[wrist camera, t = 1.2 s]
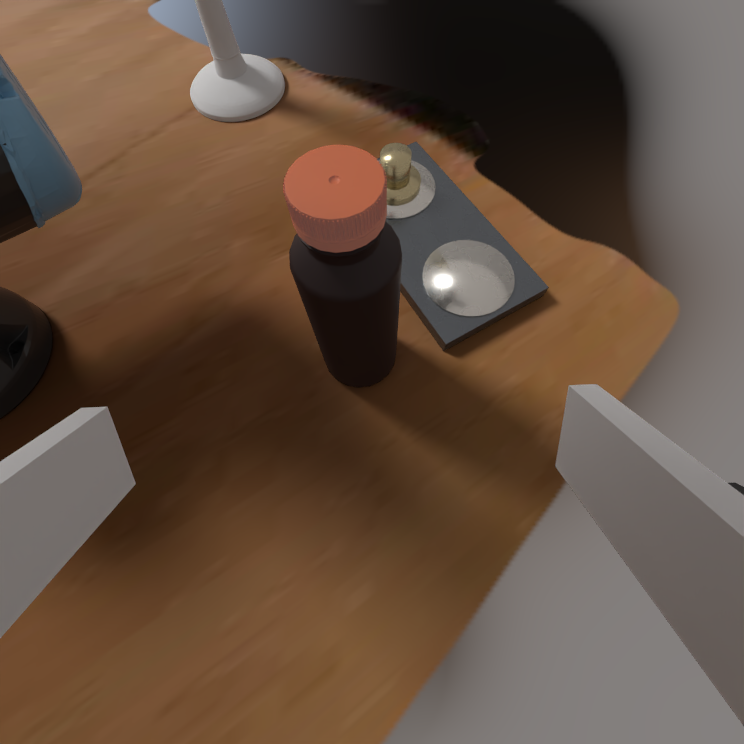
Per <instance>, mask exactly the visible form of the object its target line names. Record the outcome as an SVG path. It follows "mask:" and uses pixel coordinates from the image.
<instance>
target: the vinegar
mask: <svg viewBox="0 0 744 744" xmlns="http://www.w3.org/2000/svg"><path fill="white" fill-rule="evenodd" d="M283 185H284V186H283V191H284V196H285V199H286V202H287V206H288V209H289V212H290V216H291V219H292V222H293V225H294V228H295V230H296V232H297V234H296V235H295V237H294V240H293V243H292V245H291V248H290V252H289V254H290V269H291V272H292V275H293V277H294V280H295V283H296V285H297V288H298V291H299V293H300V296H301V299H302V301H303V304H304V307H305V309H306V312H307V315H308V317H309V320H310V323H311V325H312V328H313V331H314V333H315V336H316V339H317V341H318V344H319V347H320V349H321V352H322V355H323V357H324V360H325V362H326V365H327V367H328V369H329V372H330V373H331V374H332V375H333V376H334V377H335V378H336V379H337V380H338V381H340V382H342V383H344V384H346V385H348V386H354V387H366V386H371V385H373V384H375V383H378V382H380V381H381V380H382V379H383V378H384V377H386V376H387V375H388V374H389V372H390V370H391V369H392V367H393V365H394V362H395V357H396V345H397V330H398V315H399V299H400V284H401V269H402V251H401V245H400V240H399V238H398V236H397V235H396V233H395V231H394V230H393V228H392V226H391V225H390V224H388V223H387V222H386V216H387V176H386V173H385V170H383V167H382V164H380V161H378V160H377V158H375V157H374V156H372V155H371V154H369V153H368V152H367V151H365V150H362V149H359V148H357V147H354V146H346V145H330V146H323V147H319V148H317V149H314V150H311V151H309V152H307V153H306V154H304V155H303V156H300V158H298V159H297V160H296V161H294V163H293V164H292V166H291V167H290V168H289V170H288V173H286V176H285V179H284V183H283Z"/></svg>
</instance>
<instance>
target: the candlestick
mask: <svg viewBox="0 0 744 744" xmlns="http://www.w3.org/2000/svg"><path fill="white" fill-rule="evenodd" d="M195 3H196V6H197V9H198V12H199V15H200V18H201V21H202V25H203V28H204V30H205V34H206V36H207V40H208V43H209V46H210V49H211V54H212V56H213V59H214V61H212V62H210V63H209V64H207V65H206V66H205V67H204V68H202V69H201V70H200V72H199V73H198V74H197V75H196V77H195V79H194V80H193V83H192V85H191V89H190V96H191V100H192V102H193V104H194V106H195V108H196V109H197V110H198V111H199V112H200V113H201V114H202V115H204V116H206V117H208V118H210V119H213V120H217V121H223V122H238V121H244V120H248V119H252V118H255V117H257V116H260V115H262V114H264V113H266V112H267V111H269V110H270V109H272V108H273V107H274V106H275V105H276V104H277V103H278V102H279V101H280V99H281V98H282V96H283V93H284V90H285V82H284V78H283V75H282V73H281V71H280V69H279V68H278V67H277V66H276V65H275V64H273V63H272V62H270V61H268V60H266V59H264V58H262V57H259V56H255V55H250V54H241V53H240V51H239V46H238V45H237V42H236V39H235V37H234V34H233V31H232V28H231V25H230V22H229V20H228V17H227V14H226V11H225V8H224V6H223V3H222V0H195Z"/></svg>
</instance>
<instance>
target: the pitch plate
mask: <svg viewBox="0 0 744 744" xmlns="http://www.w3.org/2000/svg"><path fill="white" fill-rule="evenodd" d="M377 160H378V161H380V164H382V167H383V170H385V173H386V176H387V216H386V222H387V223H388V224H390V225H391V226H392V228H393V230H394V231H395V233H396V235H397V236H398V238H399V240H400V245H401V251H402V269H401V284H400V291H401V293H402V294H403V296H404V297H405V298H406V300H407V301H408V302H409V304H410V305H411V307H412V308H413V309H414V311H415V312H416V314H417V315H418V316H419V318H420V319H421V320H422V322H423V323H424V325H425V326H426V327H427V329H428V330H429V332H430V333H431V334H432V336H433V337H434V339H435V340H436V341H437V343H438V344H439V345H440V347H441V348H442V350H443V351H445V350H446V349H448V348H450V347H452V346H454V345H455V344H457V343H459V342H461V341H463V340H464V339H466V338H468V337H470V336H472V335H473V334H475V333H477V332H479V331H481V330H482V329H484V328H486V327H488V326H490V325H491V324H493V323H495V322H497V321H499V320H500V319H502V318H504V317H506V316H508V315H509V314H511V313H513V312H515V311H517V310H518V309H520V308H522V307H524V306H526V305H527V304H529V303H531V302H533V301H535V300H536V299H538V298H540V297H542V296H543V295H544V293H545V292H546V291H547V289H548V288H549V287H548V286H547V285H546V284H545V283H544V282H543V281H542V279H541V278H540V277H539V276H538V275H537V274H536V273H535V272H534V271H533V270H532V268H531V267H530V266H529V265H528V264H527V263H526V262H525V261H524V260H523V259H522V257H521V256H520V255H519V254H518V253H517V252H516V251H515V250H514V249H513V248H512V246H511V245H510V244H509V243H508V242H507V241H506V240H505V239H504V238H503V237H502V235H501V234H500V233H499V232H498V231H497V230H496V229H495V228H494V227H493V226H492V224H491V223H490V222H489V221H488V220H487V219H486V218H485V217H484V216H483V215H482V213H481V212H480V211H479V210H478V209H477V208H476V207H475V206H474V205H473V204H472V202H471V201H470V200H469V199H468V198H467V197H466V196H465V195H464V194H463V193H462V191H461V190H460V189H459V188H458V187H457V186H456V185H455V184H454V183H453V182H452V180H451V179H450V178H449V177H448V176H447V175H446V174H445V173H444V172H443V171H442V169H441V168H440V167H439V166H438V165H437V164H436V163H435V162H434V161H433V160H432V158H431V157H430V156H429V155H428V154H427V153H426V152H425V151H424V150H423V149H422V147H421V146H420V145H419V144H418V143H417V142H414V143H412V144H410V145H407V146H406V145H404V144H401V143H391V144H388V145H386V146H384V147H383V148H382V150H381V152H380V158H378V159H377Z"/></svg>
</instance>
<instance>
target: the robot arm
mask: <svg viewBox="0 0 744 744" xmlns="http://www.w3.org/2000/svg"><path fill="white" fill-rule="evenodd" d="M81 194H82V185H81V181H80V179H79V177H78V175H77V173H76V171H75V169H74V167H73V165H72V164H71V162H70V160H69V159H68V157H67V155H66V154H65V152H64V150H63V149H62V147H61V145H60V144H59V142H58V141H57V139H56V138H55V136H54V134H53V133H52V131H51V130H50V128H49V126H48V125H47V123H46V122H45V120H44V119H43V117H42V116H41V114H40V113H39V111H38V110H37V108H36V106H35V105H34V103H33V102H32V100H31V99H30V97H29V96H28V94H27V93H26V91H25V90H24V88H23V87H22V85H21V84H20V82H19V81H18V79H17V78H16V76H15V75H14V73H13V72H12V71H11V69H10V68H9V66H8V65H7V63H6V62H5V60H4V59H3V57H2V56H1V54H0V243H2V242H4V241H6V240H8V239H10V238H13V237H15V236H17V235H19V234H21V233H23V232H26V231H28V230H30V229H32V228H34V227H36V226H37V227H38V228H40V227H43V225H44V224H45V221H47V220H48V219H50V218H52V217H54V216H56V215H58V214H60V213H61V212H63V211H65V210H67V209H69V208H71V207H73V206H74V205H75V204H76V203H77V202H78V201H79V200H80V197H81ZM51 349H52V331H51V326H50V323H49V321H48V319H47V317H46V316H45V314H44V313H43V312H42V311H41V310H40V309H39V308H38V307H37V306H36V305H34V304H33V303H31V302H29V301H28V300H26V299H25V298H23V297H21V296H20V295H18V294H16V293H14V292H12V291H10V290H8V289H5V288H2V287H0V418H1V417H3V416H4V415H6V414H7V413H8V412H10V411H11V410H12V409H13V408H15V407H16V406H17V405H18V404H19V403H20V402H21V401H22V400H23V399H24V398H25V397H26V396H27V395H28V394H29V393H30V391H31V390H32V389H33V388H34V386H35V385H36V384H37V382H38V381H39V379H40V377H41V376H42V374H43V372H44V370H45V368H46V366H47V363H48V360H49V357H50V354H51ZM555 467H556V468H557V470H558V471H559V472H560V474H561V475H562V476H563V478H564V479H565V481H566V482H567V483H568V485H569V486H570V487H571V489H572V490H573V491H574V493H575V494H576V496H577V497H578V498H579V500H580V501H581V503H582V504H583V505H584V507H585V508H586V509H587V511H588V512H589V514H590V515H591V516H592V518H593V519H594V520H595V522H596V523H597V524H598V526H599V527H600V529H601V530H602V532H603V533H604V534H605V535H606V537H607V538H608V539H609V541H610V542H611V544H612V545H613V546H614V548H615V549H616V551H617V552H618V554H619V555H620V556H621V558H622V559H623V560H624V562H625V563H626V565H627V566H628V567H629V568H630V570H631V571H632V573H633V574H634V575H635V577H636V578H637V580H638V581H639V582H640V584H641V585H642V587H643V588H644V589H645V591H646V592H647V593H648V595H649V596H650V597H651V599H652V600H653V602H654V603H655V604H656V606H657V607H658V608H659V610H660V611H661V613H662V614H663V615H664V617H665V618H666V620H667V621H668V622H669V624H670V625H671V626H672V628H673V629H674V631H675V632H676V633H677V635H678V636H679V637H680V639H681V640H682V642H683V643H684V644H685V646H686V647H687V648H688V650H689V651H690V652H691V654H692V655H693V657H694V658H695V659H696V661H697V662H698V664H699V665H700V666H701V668H702V669H703V670H704V672H705V673H706V674H707V676H708V677H709V679H710V680H711V681H712V683H713V684H714V685H715V687H716V688H717V690H718V691H719V692H720V694H721V695H722V697H723V698H724V699H725V701H726V702H727V703H728V705H729V706H730V708H731V709H732V710H733V712H734V713H735V714H736V716H737V717H738V719H739V720H740V721H741V723H742V724H743V725H744V487H743V486H741V485H739V484H737V483H727V482H725V481H724V480H723V479H721V478H720V477H719V476H717V475H716V474H715V473H714V472H712V471H711V470H710V469H708V468H707V467H705V466H704V465H703V464H702V463H700V462H699V461H697V460H696V459H695V458H694V457H692V456H691V455H690V454H688V453H687V452H686V451H684V450H683V449H682V448H680V447H679V446H678V445H676V444H675V443H674V442H672V441H671V440H670V439H668V438H667V437H666V436H665V435H663V434H662V433H661V432H659V431H658V430H656V429H655V428H654V427H652V426H651V425H650V424H649V423H647V422H646V421H644V420H643V419H642V418H640V417H639V416H638V415H637V414H635V413H634V412H633V411H631V410H630V409H629V408H627V407H626V406H625V405H623V404H622V403H621V402H619V401H618V400H617V399H616V398H614V397H613V396H612V395H610V394H609V393H608V392H606V391H605V390H604V389H602V388H601V387H600V386H598V385H597V384H588V385H569V387H568V393H567V399H566V405H565V411H564V417H563V423H562V429H561V435H560V441H559V447H558V453H557V459H556V465H555ZM135 484H136V483H135V480H134V477H133V475H132V472H131V469H130V466H129V464H128V461H127V458H126V456H125V453H124V450H123V447H122V445H121V442H120V439H119V437H118V434H117V431H116V428H115V426H114V423H113V420H112V418H111V415H110V412H109V409H108V407H89V408H80V409H79V410H77V411H76V412H74V413H73V414H71V415H70V416H68V417H67V418H65V419H64V420H62V421H61V422H59V423H58V424H56V425H55V426H53V427H52V428H50V429H49V430H47V431H46V432H44V433H43V434H41V435H40V436H38V437H37V438H35V439H34V440H32V441H31V442H29V443H27V444H26V445H24V446H23V447H21V448H20V449H18V450H17V451H15V452H14V453H12V454H11V455H9V456H8V457H6V458H5V459H3V460H2V461H0V638H1V637H2V636H3V634H4V633H5V632H6V631H7V630H8V629H9V628H10V627H11V625H12V624H13V623H14V622H15V621H16V620H17V619H18V617H19V616H20V615H21V614H22V613H23V612H24V611H25V609H26V608H27V607H28V606H29V605H30V604H31V603H32V601H33V600H34V599H35V598H36V597H37V596H38V595H39V594H40V592H41V591H42V590H43V589H44V588H45V587H46V586H47V584H48V583H49V582H50V581H51V580H52V579H53V578H54V576H55V575H56V574H57V573H58V572H59V571H60V570H61V569H62V567H63V566H64V565H65V564H66V563H67V562H68V561H69V559H70V558H71V557H72V556H73V555H74V554H75V553H76V551H77V550H78V549H79V548H80V547H81V546H82V545H83V543H84V542H85V541H86V540H87V539H88V538H89V537H90V536H91V534H92V533H93V532H94V531H95V530H96V529H97V528H98V526H99V525H100V524H101V523H102V522H103V521H104V520H105V518H106V517H107V516H108V515H109V514H110V513H111V512H112V511H113V509H114V508H115V507H116V506H117V505H118V504H119V503H120V501H121V500H122V499H123V498H124V497H125V496H126V495H127V493H128V492H129V491H130V490H131V489H132V488H133V487H134V485H135Z"/></svg>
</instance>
